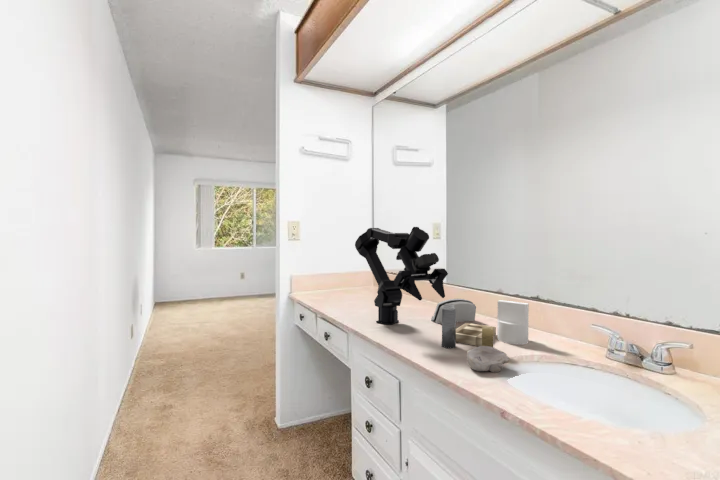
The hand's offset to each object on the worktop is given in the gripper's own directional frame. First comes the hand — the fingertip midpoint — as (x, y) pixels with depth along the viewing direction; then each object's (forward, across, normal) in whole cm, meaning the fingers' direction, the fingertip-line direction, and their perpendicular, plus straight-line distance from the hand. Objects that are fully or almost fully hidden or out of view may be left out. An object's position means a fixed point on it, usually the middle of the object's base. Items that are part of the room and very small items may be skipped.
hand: (432, 298), depth 114 cm
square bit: (+21, +6, -3) cm, 22 cm away
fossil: (+27, -4, -8) cm, 28 cm away
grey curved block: (-1, +24, +20) cm, 31 cm away
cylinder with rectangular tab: (+18, +22, +1) cm, 29 cm away
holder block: (+12, +13, +6) cm, 19 cm away
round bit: (+14, 0, +4) cm, 15 cm away
